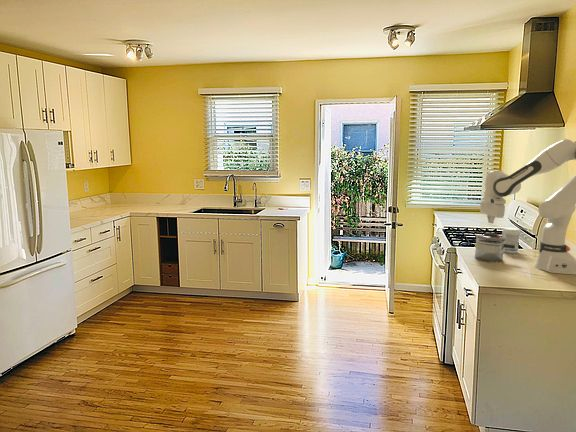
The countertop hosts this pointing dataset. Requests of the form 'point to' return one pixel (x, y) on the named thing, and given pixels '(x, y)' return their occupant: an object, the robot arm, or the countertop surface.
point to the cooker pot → (490, 250)
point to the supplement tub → (511, 238)
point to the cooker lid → (491, 237)
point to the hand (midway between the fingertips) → (490, 223)
